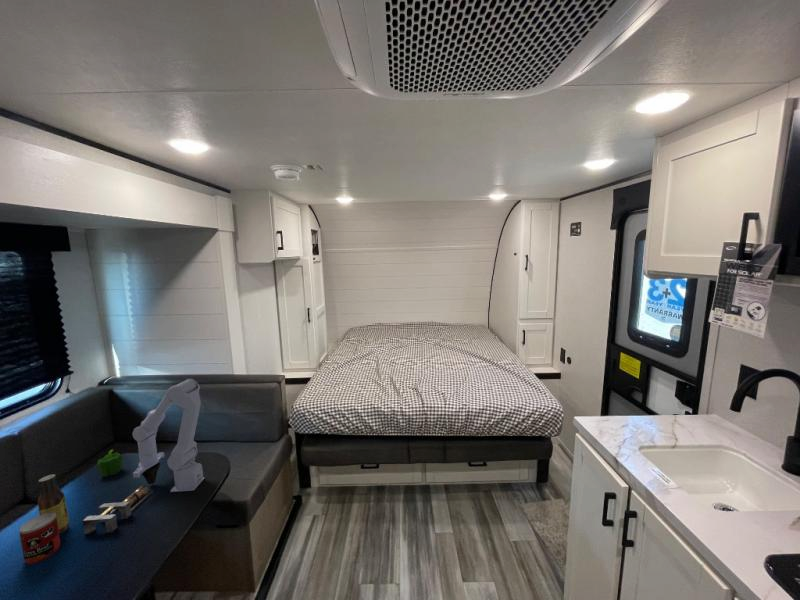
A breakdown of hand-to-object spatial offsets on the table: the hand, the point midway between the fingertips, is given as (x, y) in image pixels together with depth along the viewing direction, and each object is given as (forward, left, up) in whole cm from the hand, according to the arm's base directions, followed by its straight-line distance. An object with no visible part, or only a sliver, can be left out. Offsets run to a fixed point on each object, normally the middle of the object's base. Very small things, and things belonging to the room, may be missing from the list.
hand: (151, 483), depth 133 cm
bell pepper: (+26, -11, -1) cm, 28 cm away
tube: (0, +10, -1) cm, 10 cm away
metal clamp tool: (0, +15, -1) cm, 15 cm away
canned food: (+11, +32, -1) cm, 33 cm away
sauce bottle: (+16, +23, -1) cm, 28 cm away
